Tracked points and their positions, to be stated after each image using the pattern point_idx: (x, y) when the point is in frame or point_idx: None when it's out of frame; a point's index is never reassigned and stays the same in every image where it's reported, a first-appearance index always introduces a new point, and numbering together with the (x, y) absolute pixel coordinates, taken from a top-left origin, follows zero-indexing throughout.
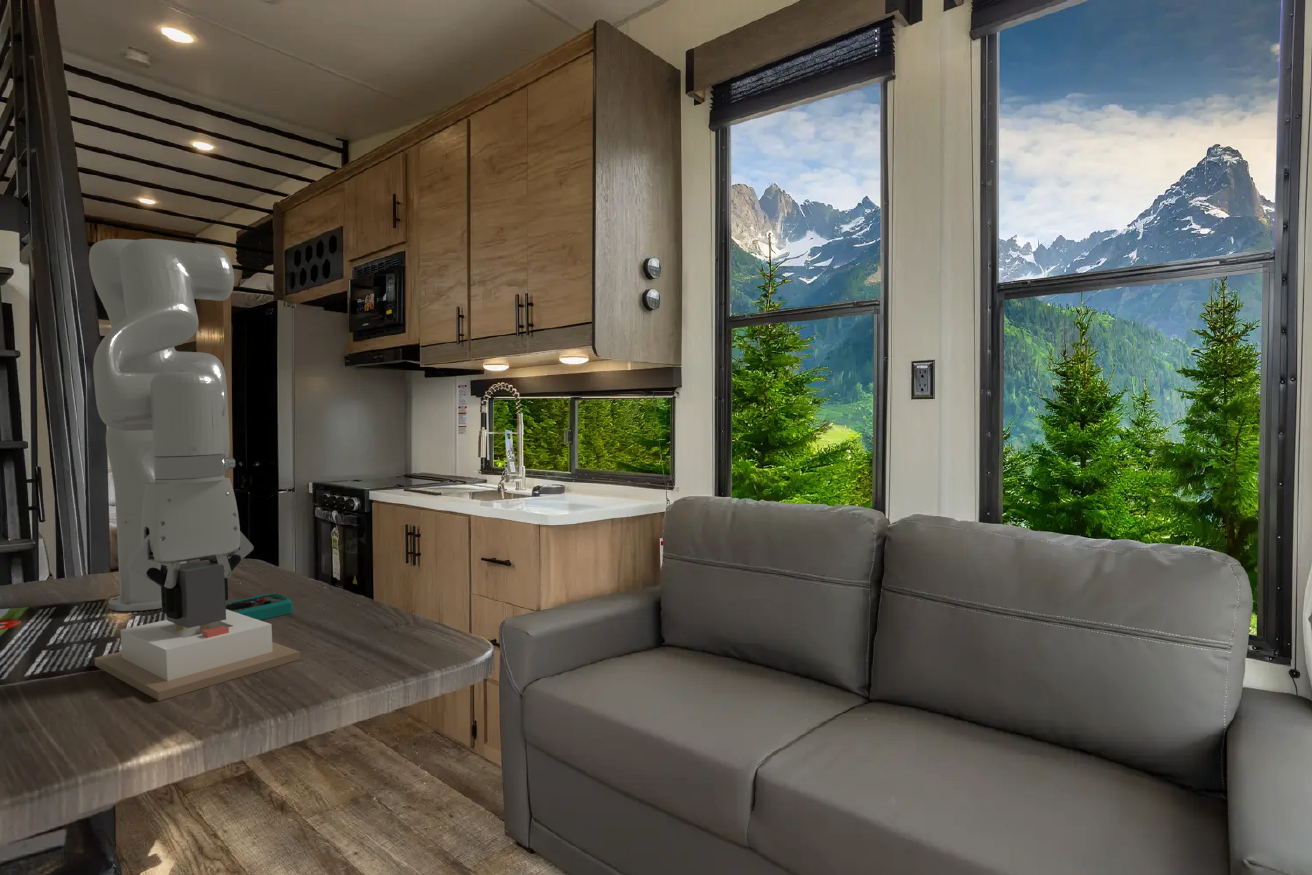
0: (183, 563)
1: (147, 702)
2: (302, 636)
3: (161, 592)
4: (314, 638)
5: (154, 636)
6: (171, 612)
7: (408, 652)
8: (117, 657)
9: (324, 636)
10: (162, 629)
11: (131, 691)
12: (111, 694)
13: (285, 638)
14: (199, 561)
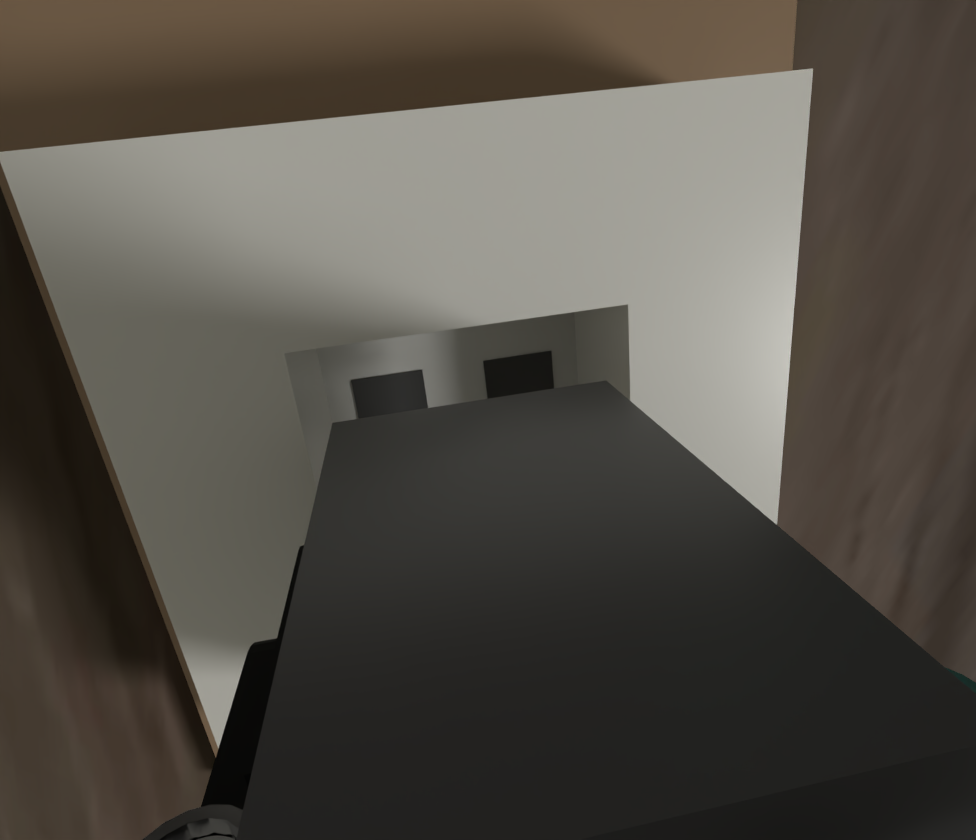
0: (623, 836)
1: (205, 760)
2: (917, 381)
3: (210, 789)
4: (920, 453)
5: (229, 557)
6: None
7: None
8: (80, 131)
9: (956, 456)
10: (297, 420)
11: (159, 617)
12: (82, 601)
13: (864, 351)
14: (905, 824)
